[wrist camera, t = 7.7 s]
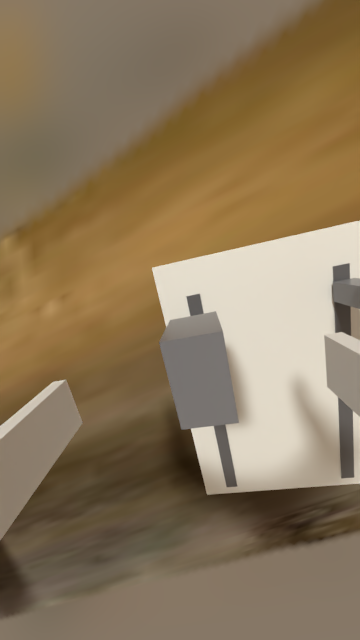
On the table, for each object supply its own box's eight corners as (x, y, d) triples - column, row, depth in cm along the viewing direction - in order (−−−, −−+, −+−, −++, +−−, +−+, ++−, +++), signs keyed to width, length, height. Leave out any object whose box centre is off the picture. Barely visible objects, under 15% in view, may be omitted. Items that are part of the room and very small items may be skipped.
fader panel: (206, 470, 27) (207, 495, 24) (158, 267, 21) (151, 267, 18) (357, 456, 25) (379, 482, 22) (354, 222, 19) (383, 214, 16)
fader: (188, 356, 20) (181, 429, 11) (177, 305, 19) (158, 342, 10) (221, 351, 20) (239, 423, 11) (211, 298, 18) (222, 331, 10)
